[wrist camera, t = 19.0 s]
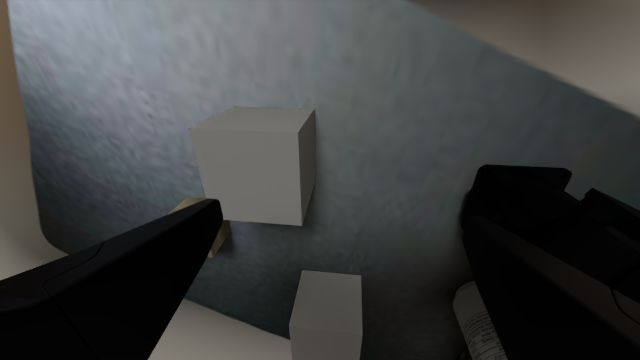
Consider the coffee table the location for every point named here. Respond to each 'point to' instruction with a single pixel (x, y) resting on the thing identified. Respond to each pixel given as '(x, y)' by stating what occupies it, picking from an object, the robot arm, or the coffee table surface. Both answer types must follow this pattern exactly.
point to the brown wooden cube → (222, 232)
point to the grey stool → (327, 317)
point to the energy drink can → (477, 324)
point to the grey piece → (258, 162)
